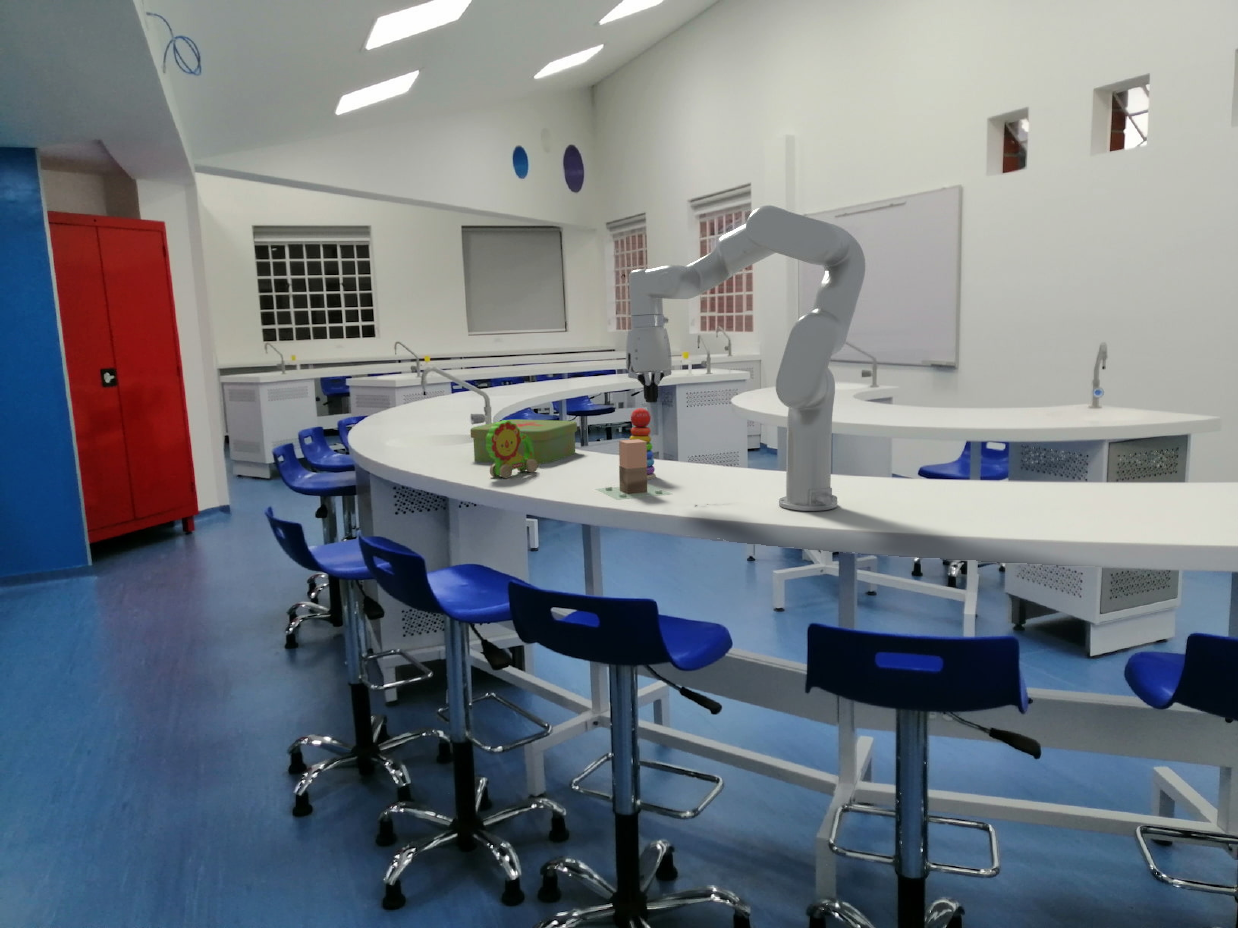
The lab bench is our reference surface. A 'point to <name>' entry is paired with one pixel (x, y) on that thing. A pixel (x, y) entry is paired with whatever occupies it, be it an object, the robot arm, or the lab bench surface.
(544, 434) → the first aid kit
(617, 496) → the build plate
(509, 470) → the toy lion
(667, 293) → the robot arm
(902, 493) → the lab bench surface
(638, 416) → the stacking toy
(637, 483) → the walnut block
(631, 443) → the rust block
